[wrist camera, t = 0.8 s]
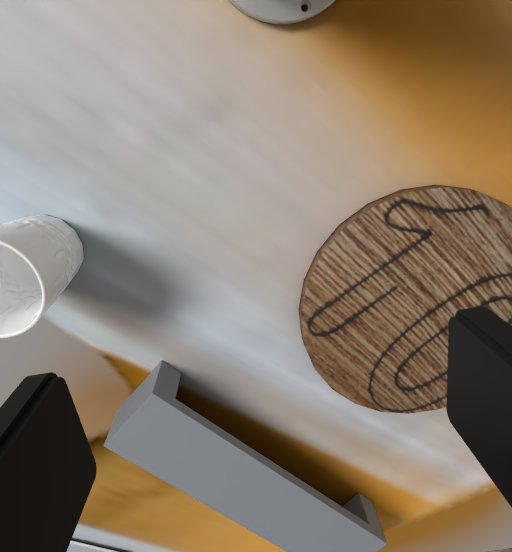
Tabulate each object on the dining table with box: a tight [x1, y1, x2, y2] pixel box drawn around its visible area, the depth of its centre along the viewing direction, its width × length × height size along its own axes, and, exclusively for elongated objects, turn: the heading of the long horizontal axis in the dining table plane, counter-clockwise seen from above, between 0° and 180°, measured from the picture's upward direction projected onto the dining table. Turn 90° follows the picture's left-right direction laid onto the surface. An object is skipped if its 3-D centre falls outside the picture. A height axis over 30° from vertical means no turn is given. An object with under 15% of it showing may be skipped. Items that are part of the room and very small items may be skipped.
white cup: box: [0, 214, 84, 338], centre depth 34 cm, size 8×8×10 cm
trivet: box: [299, 185, 512, 414], centre depth 42 cm, size 25×25×2 cm
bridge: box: [104, 361, 387, 552], centre depth 46 cm, size 8×33×6 cm, turn 49°
